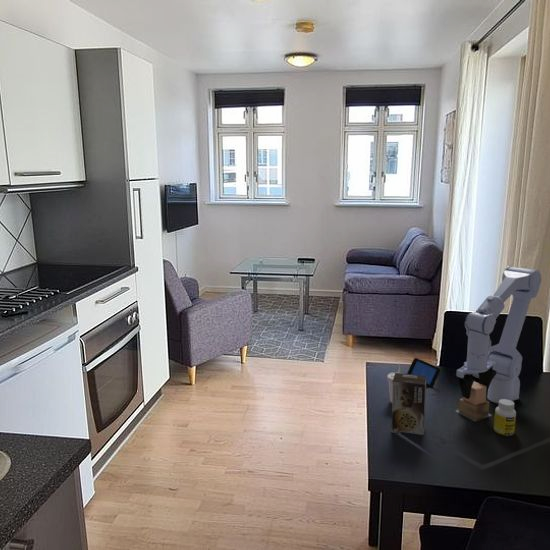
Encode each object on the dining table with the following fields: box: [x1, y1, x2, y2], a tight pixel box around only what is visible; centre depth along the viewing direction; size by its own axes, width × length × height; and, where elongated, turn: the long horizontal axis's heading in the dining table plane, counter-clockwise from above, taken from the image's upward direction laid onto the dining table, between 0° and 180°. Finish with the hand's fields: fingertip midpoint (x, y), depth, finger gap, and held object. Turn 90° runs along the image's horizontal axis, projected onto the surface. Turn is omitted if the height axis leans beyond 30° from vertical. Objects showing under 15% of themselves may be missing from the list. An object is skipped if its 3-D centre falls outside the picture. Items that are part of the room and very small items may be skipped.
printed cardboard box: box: [391, 372, 427, 436], centre depth 143 cm, size 9×6×16 cm
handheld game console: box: [406, 357, 441, 390], centre depth 174 cm, size 12×11×7 cm
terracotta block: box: [462, 381, 487, 405], centre depth 151 cm, size 4×4×5 cm
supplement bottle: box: [493, 399, 517, 437], centre depth 140 cm, size 5×5×10 cm
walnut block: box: [458, 397, 490, 420], centre depth 152 cm, size 6×6×4 cm
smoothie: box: [386, 362, 404, 404], centre depth 159 cm, size 6×6×14 cm
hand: (474, 394), depth 151 cm, fingers open, 7 cm apart
